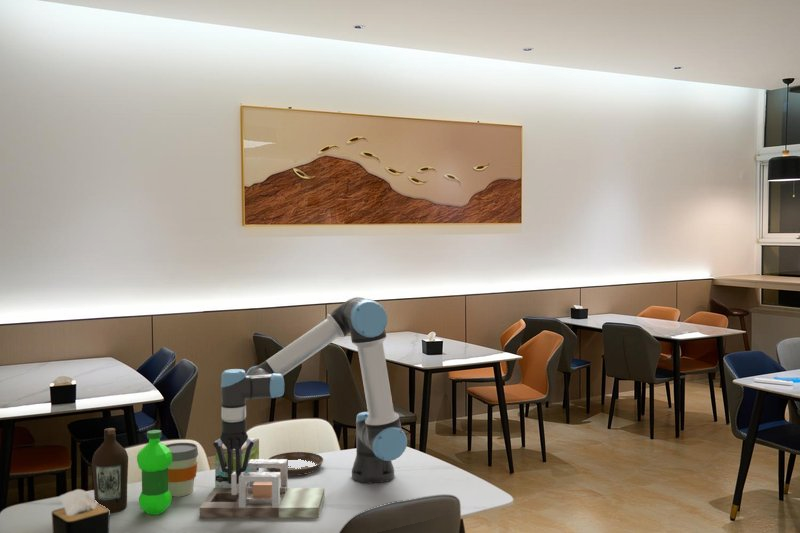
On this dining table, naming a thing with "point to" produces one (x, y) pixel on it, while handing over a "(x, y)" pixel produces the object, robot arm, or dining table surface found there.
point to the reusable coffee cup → (182, 468)
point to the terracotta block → (262, 490)
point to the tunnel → (264, 477)
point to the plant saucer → (303, 456)
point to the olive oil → (110, 473)
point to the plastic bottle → (154, 474)
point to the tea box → (234, 464)
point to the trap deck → (292, 504)
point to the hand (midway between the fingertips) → (234, 493)
